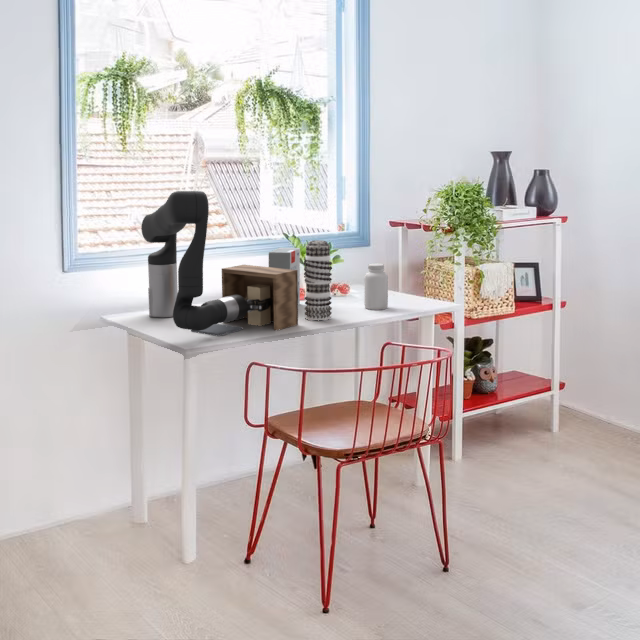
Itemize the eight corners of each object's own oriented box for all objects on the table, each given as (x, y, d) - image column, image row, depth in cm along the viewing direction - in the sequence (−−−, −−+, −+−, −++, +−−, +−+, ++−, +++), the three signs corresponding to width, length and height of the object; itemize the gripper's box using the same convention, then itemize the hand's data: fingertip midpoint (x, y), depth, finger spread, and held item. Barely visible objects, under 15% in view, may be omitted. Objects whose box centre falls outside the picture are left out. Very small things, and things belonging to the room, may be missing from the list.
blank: (260, 326, 297) (259, 287, 295) (247, 324, 300) (247, 286, 298) (270, 323, 301) (270, 285, 299) (258, 321, 304) (257, 284, 302)
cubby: (276, 330, 290) (275, 274, 287) (222, 322, 303) (221, 268, 299) (297, 324, 299) (297, 270, 296) (244, 317, 311) (243, 264, 308)
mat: (218, 335, 283) (218, 333, 283) (191, 331, 290) (191, 329, 289) (242, 329, 292) (242, 327, 292) (215, 325, 298) (215, 323, 298)
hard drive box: (290, 312, 319) (289, 252, 315) (268, 311, 321) (267, 252, 317) (300, 303, 334) (300, 247, 330) (279, 303, 336) (278, 246, 332)
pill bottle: (361, 309, 324) (361, 265, 321) (368, 305, 331) (369, 262, 328) (383, 310, 321) (383, 266, 318) (390, 306, 328) (391, 263, 325)
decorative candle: (299, 320, 306) (298, 242, 301) (310, 314, 315) (309, 239, 310) (326, 321, 303) (326, 243, 298) (336, 316, 311) (336, 240, 306)
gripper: (246, 298, 283) (282, 290, 296) (210, 294, 291) (246, 286, 305) (247, 323, 284) (282, 314, 298) (211, 318, 293) (247, 309, 306)
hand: (264, 300), depth 301 cm, fingers closed on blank, 5 cm apart
